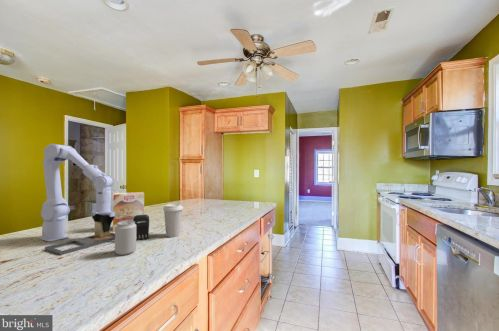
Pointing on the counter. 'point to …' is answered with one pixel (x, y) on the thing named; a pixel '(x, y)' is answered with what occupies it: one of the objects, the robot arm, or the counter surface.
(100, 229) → the brass block
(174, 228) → the coffee cup
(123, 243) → the can
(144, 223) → the battery charger
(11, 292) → the counter surface
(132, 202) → the coffeecake box
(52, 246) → the gray rectangular frame
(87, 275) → the counter surface
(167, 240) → the counter surface
